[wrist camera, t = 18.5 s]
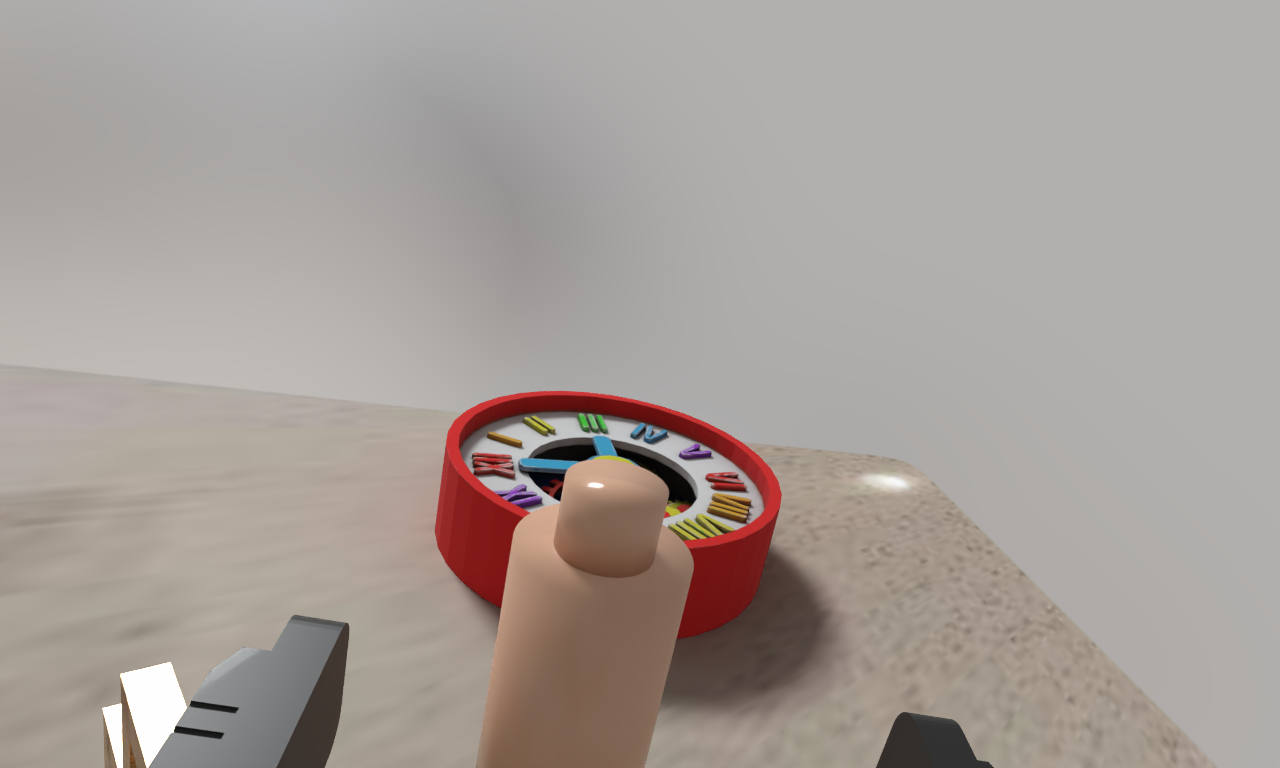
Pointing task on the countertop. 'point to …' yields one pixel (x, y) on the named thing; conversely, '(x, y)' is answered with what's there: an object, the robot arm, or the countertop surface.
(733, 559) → the toy clock
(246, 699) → the robot arm
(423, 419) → the countertop surface
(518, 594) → the peach bottle
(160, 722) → the golden stepped frame
